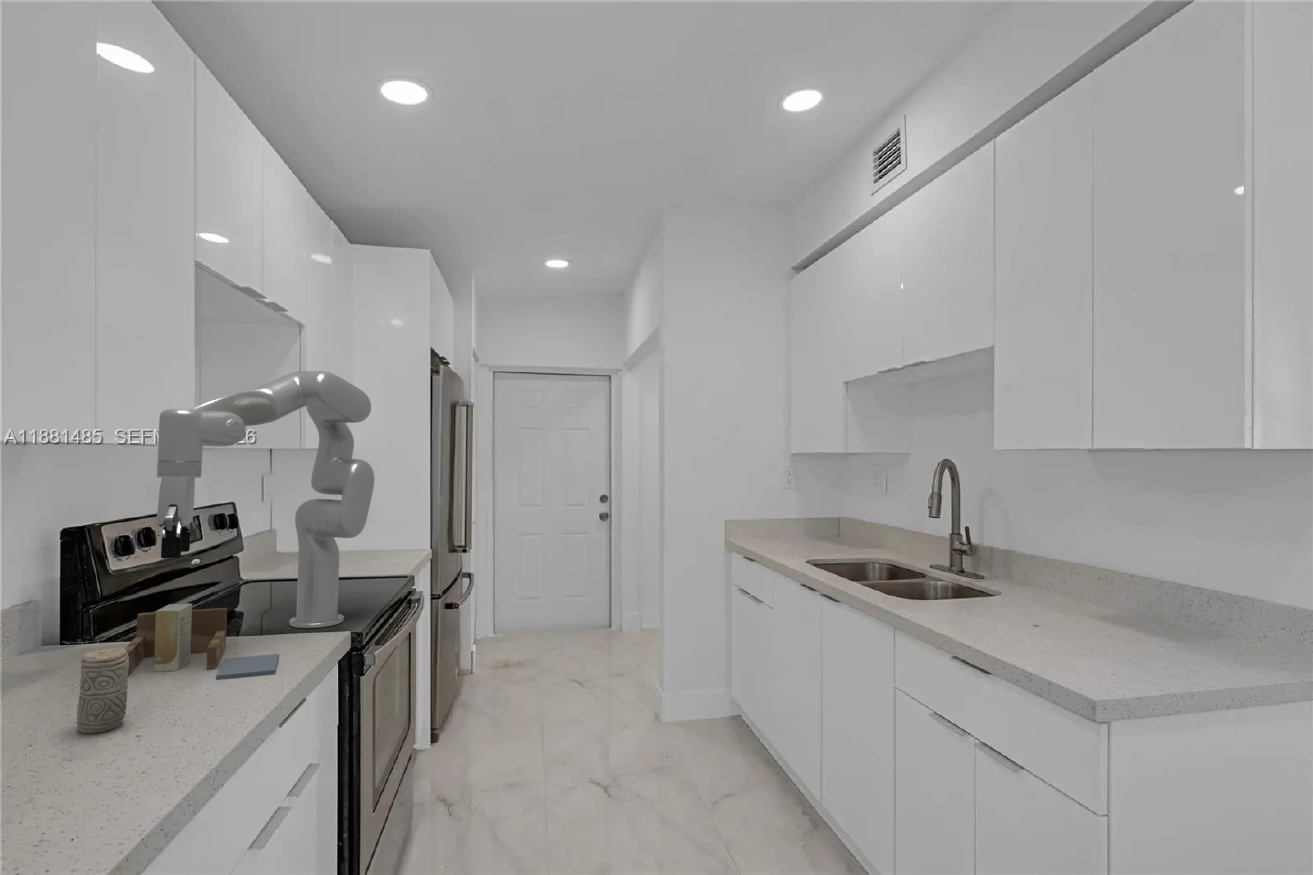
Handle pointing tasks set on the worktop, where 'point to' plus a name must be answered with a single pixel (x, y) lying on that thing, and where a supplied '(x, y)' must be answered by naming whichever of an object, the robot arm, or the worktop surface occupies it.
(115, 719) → the carving
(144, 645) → the shelf bay
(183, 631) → the skincare box
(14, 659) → the worktop surface
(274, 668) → the slate pad
